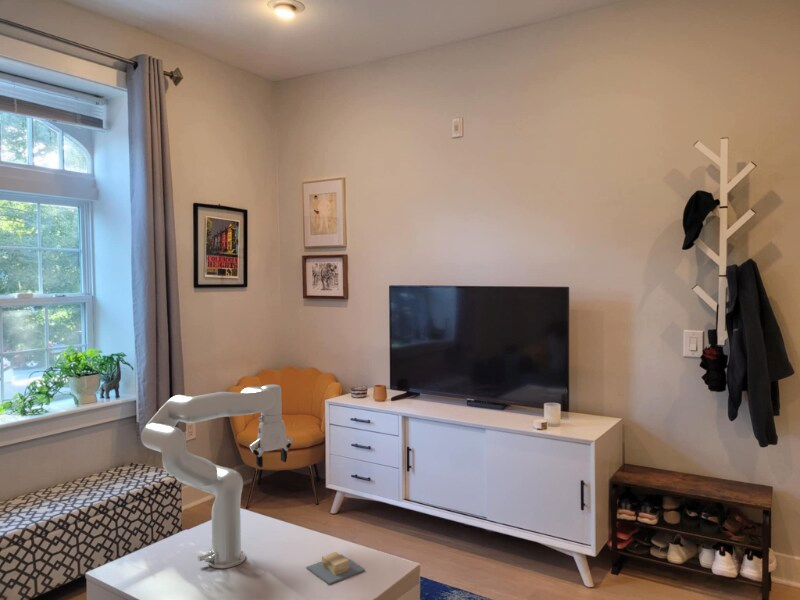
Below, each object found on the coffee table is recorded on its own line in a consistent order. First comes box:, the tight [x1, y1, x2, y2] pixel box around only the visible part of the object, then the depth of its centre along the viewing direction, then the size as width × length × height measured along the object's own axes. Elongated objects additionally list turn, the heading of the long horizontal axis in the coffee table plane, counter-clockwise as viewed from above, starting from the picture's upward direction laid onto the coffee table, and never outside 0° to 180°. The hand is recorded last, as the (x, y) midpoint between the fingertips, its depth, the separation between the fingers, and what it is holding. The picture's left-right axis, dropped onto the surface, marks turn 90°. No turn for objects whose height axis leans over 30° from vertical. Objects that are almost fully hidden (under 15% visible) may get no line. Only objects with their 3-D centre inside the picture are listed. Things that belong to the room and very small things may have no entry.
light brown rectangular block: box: [321, 551, 350, 575], centre depth 193 cm, size 8×6×3 cm
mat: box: [305, 554, 366, 586], centre depth 193 cm, size 14×14×1 cm
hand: (271, 463), depth 217 cm, fingers open, 9 cm apart
